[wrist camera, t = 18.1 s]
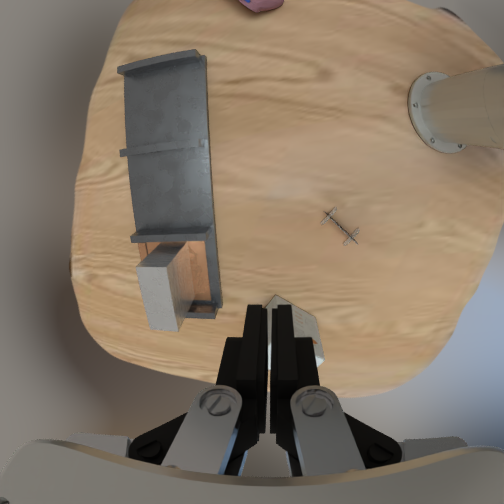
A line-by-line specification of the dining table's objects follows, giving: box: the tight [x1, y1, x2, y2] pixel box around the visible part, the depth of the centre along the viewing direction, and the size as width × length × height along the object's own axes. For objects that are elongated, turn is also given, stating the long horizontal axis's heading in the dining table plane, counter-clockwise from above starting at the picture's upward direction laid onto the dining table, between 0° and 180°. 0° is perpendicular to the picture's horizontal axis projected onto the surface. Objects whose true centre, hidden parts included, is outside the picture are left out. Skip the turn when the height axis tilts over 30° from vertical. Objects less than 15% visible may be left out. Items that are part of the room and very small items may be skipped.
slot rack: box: [117, 49, 223, 319], centre depth 37 cm, size 12×37×4 cm, turn 2°
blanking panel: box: [136, 241, 195, 332], centre depth 37 cm, size 4×9×9 cm, turn 2°
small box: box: [266, 295, 325, 370], centre depth 40 cm, size 8×6×10 cm
